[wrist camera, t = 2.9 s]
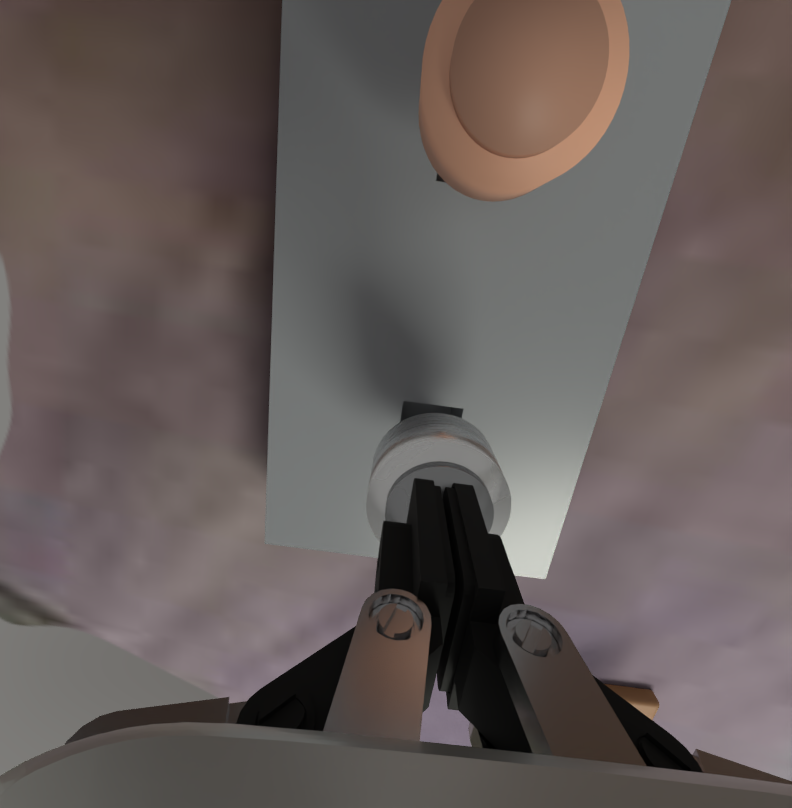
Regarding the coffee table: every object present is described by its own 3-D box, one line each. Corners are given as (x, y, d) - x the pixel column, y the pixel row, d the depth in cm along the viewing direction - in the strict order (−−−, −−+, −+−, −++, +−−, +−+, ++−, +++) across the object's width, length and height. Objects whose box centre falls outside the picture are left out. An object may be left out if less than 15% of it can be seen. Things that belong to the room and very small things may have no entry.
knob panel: (810, -478, 12) (990, -807, 8) (523, 529, 24) (545, 579, 20) (342, -564, 12) (312, -946, 8) (287, 498, 24) (264, 543, 20)
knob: (489, 393, 17) (531, 459, 11) (469, 485, 19) (496, 584, 13) (384, 378, 17) (373, 438, 11) (372, 472, 18) (357, 566, 13)
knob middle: (560, 75, 13) (672, -59, 8) (527, 221, 15) (601, 198, 9) (426, 55, 13) (441, -96, 8) (407, 204, 15) (408, 169, 9)
